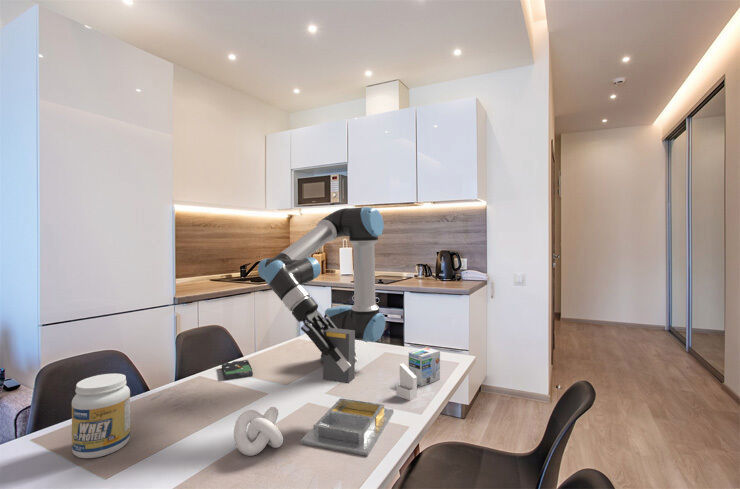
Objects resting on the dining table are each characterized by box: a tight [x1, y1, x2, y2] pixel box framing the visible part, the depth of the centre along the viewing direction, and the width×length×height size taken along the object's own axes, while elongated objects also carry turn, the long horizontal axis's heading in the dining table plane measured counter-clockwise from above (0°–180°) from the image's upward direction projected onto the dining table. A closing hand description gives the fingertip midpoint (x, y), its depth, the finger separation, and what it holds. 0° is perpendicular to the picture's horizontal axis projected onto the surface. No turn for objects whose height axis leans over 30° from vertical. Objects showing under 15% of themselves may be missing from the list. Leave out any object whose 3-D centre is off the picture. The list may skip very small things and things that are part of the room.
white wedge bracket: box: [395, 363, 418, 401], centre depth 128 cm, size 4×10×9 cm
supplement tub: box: [71, 372, 131, 459], centre depth 97 cm, size 12×12×17 cm
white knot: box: [233, 406, 284, 457], centre depth 97 cm, size 11×12×9 cm
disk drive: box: [221, 359, 254, 381], centre depth 151 cm, size 10×3×15 cm
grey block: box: [322, 328, 356, 384], centre depth 111 cm, size 4×8×14 cm, turn 70°
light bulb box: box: [408, 346, 441, 387], centre depth 141 cm, size 11×7×11 cm, turn 131°
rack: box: [300, 397, 395, 457], centre depth 107 cm, size 24×18×4 cm
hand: (351, 365), depth 110 cm, fingers closed on grey block, 4 cm apart
